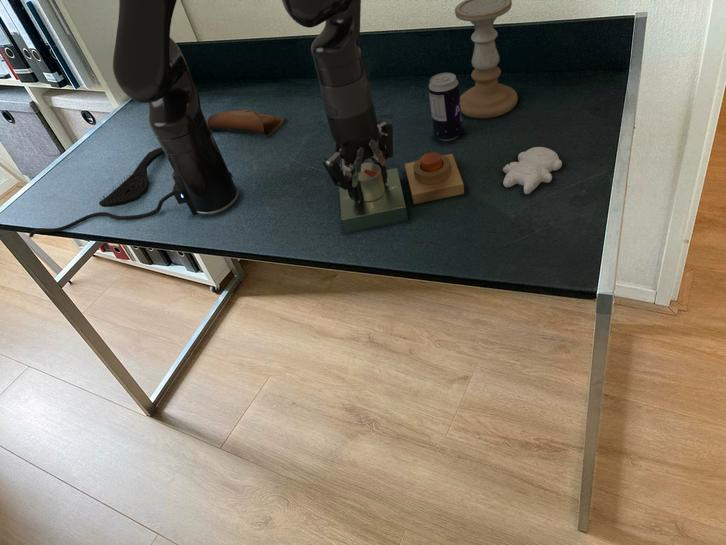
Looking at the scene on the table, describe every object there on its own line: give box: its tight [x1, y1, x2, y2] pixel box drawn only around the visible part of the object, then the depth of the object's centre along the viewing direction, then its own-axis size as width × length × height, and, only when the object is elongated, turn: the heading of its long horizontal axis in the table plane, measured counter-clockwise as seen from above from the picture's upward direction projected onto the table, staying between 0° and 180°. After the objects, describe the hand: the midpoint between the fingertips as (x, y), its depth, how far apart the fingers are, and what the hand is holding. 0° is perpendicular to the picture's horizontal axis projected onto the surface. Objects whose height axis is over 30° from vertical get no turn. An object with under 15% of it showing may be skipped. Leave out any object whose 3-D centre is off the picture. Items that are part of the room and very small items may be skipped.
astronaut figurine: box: [502, 146, 563, 195], centre depth 92 cm, size 9×12×3 cm
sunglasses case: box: [206, 109, 285, 137], centre depth 127 cm, size 18×7×7 cm
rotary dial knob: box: [350, 162, 385, 202], centre depth 92 cm, size 5×5×5 cm
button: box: [420, 151, 442, 172], centre depth 94 cm, size 4×4×2 cm
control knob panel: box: [338, 167, 409, 234], centre depth 95 cm, size 11×12×3 cm
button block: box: [404, 153, 465, 205], centre depth 96 cm, size 9×10×4 cm
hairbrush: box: [98, 146, 165, 208], centre depth 119 cm, size 8×4×25 cm
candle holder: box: [454, 0, 519, 119], centre depth 106 cm, size 12×12×20 cm
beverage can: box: [427, 72, 464, 142], centre depth 103 cm, size 6×6×12 cm
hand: (369, 191), depth 93 cm, fingers closed on rotary dial knob, 5 cm apart
